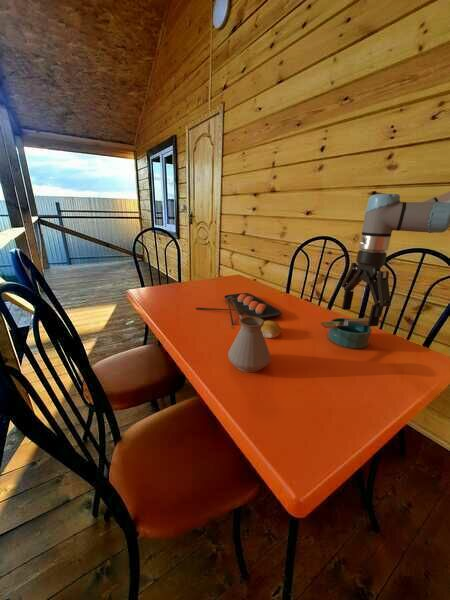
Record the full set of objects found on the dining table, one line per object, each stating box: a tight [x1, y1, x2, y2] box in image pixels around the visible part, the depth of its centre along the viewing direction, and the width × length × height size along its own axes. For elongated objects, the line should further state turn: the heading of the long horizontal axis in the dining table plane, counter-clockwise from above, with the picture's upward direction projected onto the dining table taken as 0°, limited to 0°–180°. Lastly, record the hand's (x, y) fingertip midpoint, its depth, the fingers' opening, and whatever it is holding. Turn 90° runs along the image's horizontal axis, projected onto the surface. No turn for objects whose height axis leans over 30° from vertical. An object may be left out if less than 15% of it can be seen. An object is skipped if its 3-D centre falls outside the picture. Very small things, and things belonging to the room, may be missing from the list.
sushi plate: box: [195, 292, 283, 326], centre depth 107 cm, size 29×30×4 cm
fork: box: [320, 317, 381, 329], centre depth 82 cm, size 19×3×2 cm, turn 97°
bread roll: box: [261, 320, 282, 339], centre depth 87 cm, size 8×9×4 cm
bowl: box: [327, 317, 372, 350], centre depth 84 cm, size 12×12×6 cm
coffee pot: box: [226, 296, 271, 373], centre depth 71 cm, size 21×12×15 cm, turn 20°
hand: (358, 317), depth 82 cm, fingers open, 13 cm apart
